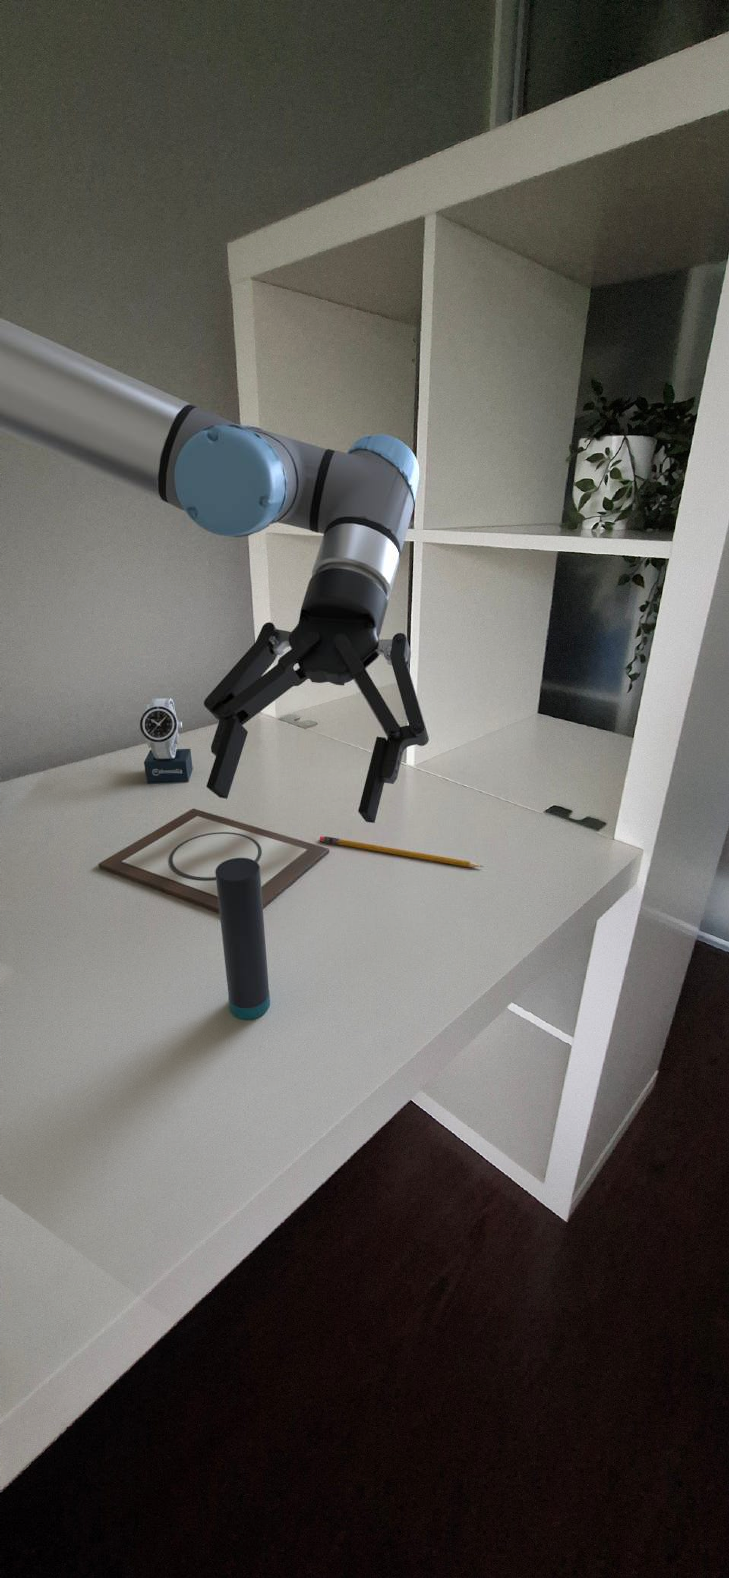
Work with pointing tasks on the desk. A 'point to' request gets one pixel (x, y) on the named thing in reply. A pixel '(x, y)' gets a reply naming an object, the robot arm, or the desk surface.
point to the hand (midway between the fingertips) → (288, 805)
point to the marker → (243, 936)
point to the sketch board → (211, 857)
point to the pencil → (398, 852)
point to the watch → (164, 744)
